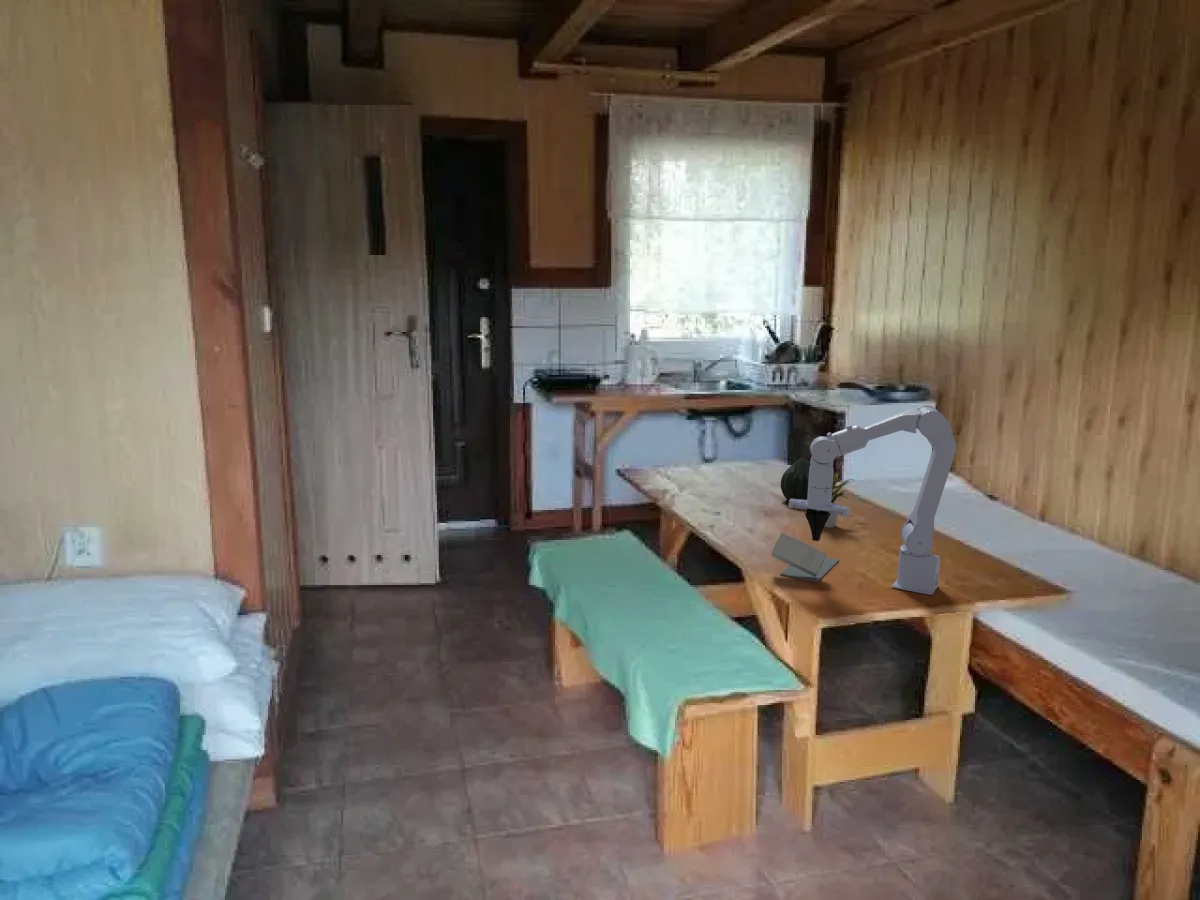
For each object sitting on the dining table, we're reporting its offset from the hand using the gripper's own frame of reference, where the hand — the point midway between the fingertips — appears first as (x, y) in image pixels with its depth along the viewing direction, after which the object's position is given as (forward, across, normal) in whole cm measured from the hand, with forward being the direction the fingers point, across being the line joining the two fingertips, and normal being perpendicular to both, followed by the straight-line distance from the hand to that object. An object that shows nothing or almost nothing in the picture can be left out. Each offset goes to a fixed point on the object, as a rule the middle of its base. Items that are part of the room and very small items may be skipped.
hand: (816, 539), depth 229 cm
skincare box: (+6, -2, 0) cm, 7 cm away
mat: (+10, +3, -8) cm, 13 cm away
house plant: (+10, +10, -48) cm, 50 cm away
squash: (+10, +25, -71) cm, 76 cm away
